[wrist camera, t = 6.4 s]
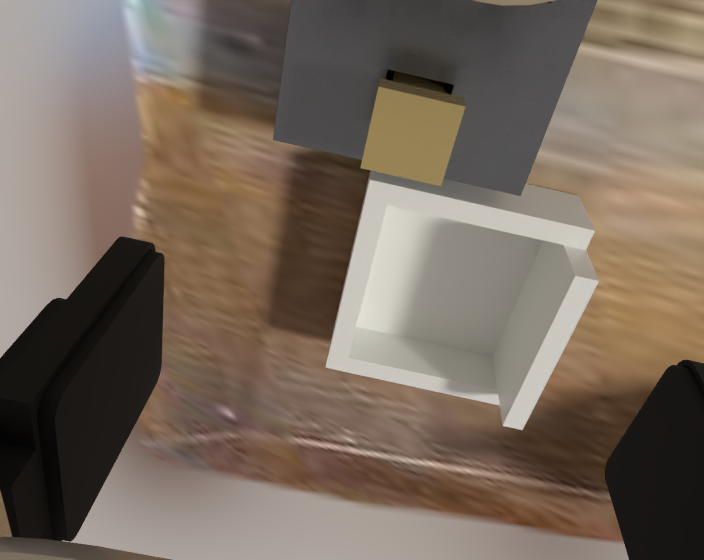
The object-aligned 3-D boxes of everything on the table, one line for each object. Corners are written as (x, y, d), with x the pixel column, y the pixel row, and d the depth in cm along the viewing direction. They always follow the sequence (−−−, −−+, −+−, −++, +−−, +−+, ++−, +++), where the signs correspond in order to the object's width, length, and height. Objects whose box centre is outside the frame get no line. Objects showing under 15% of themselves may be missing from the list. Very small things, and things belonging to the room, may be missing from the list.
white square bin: (375, 149, 29) (364, 205, 24) (578, 195, 30) (609, 260, 25) (333, 326, 36) (318, 401, 31) (502, 364, 36) (515, 443, 31)
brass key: (388, 39, 27) (378, 86, 21) (456, 55, 27) (465, 106, 21) (373, 107, 28) (360, 168, 22) (437, 121, 28) (441, 186, 23)
